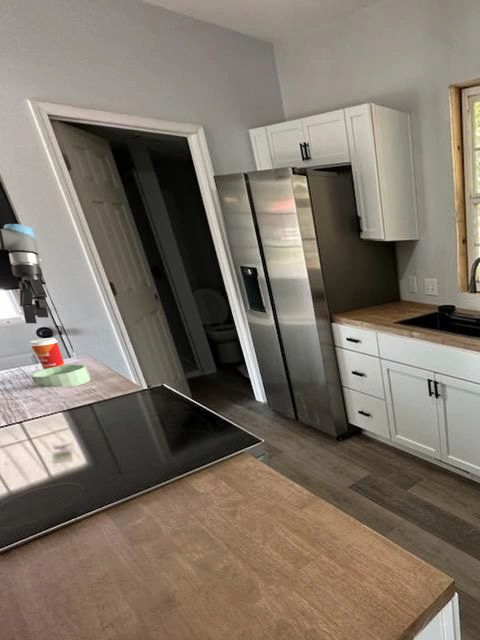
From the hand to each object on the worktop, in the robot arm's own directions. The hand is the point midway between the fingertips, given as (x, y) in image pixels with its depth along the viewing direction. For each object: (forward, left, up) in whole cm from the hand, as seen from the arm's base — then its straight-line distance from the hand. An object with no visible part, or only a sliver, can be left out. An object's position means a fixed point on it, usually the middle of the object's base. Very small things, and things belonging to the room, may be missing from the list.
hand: (37, 320), depth 161 cm
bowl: (+14, -15, -22) cm, 30 cm away
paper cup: (0, -1, -22) cm, 22 cm away
